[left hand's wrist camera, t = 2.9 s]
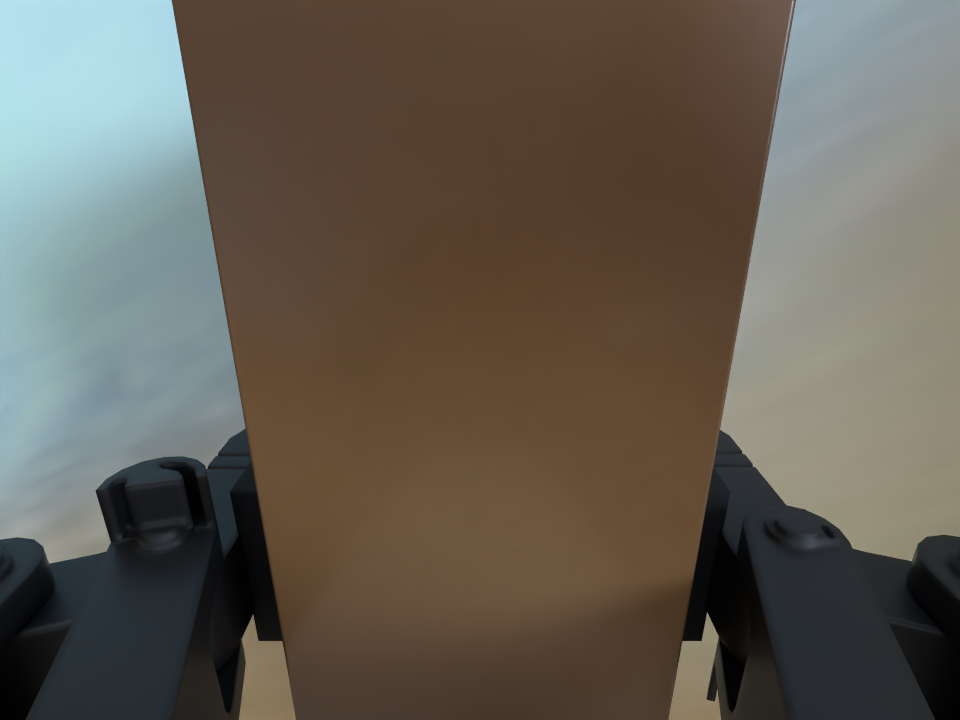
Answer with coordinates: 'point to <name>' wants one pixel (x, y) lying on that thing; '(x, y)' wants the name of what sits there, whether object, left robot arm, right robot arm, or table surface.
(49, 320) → the table surface
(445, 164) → the post
